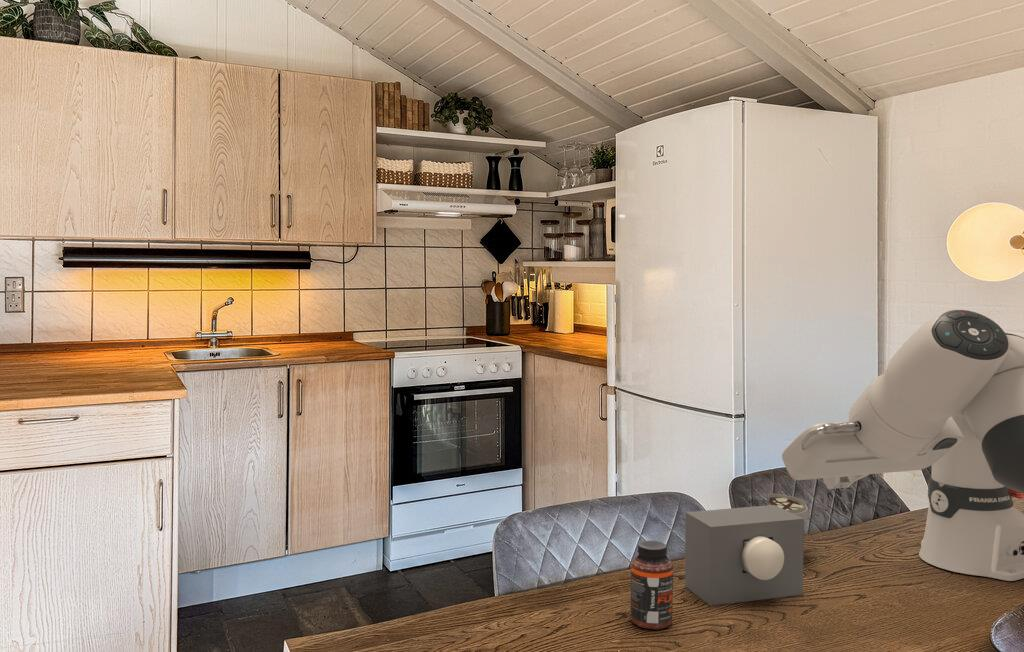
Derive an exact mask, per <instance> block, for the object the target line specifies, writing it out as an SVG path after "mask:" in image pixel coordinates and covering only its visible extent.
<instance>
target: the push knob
mask: <svg viewBox="0 0 1024 652" xmlns="http://www.w3.org/2000/svg"><path fill="white" fill-rule="evenodd" d="M742 564H743V570H745V571H747V572H748V573H750V574H752V575H753V576H755V577H756V578H758V579H761V580H769V579H772V578H773V577H775V576H776V575H777V574H778V573H779V572H780V571H781V569H782V567H783V564H784V553H783V550H782V548H781V547H780V545H779V544H778V543H776V542H774V541H772V540H771V539H769V538H767V537H763V536H759V537H755V538H753V539H746V540H743V552H742Z"/></svg>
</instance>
